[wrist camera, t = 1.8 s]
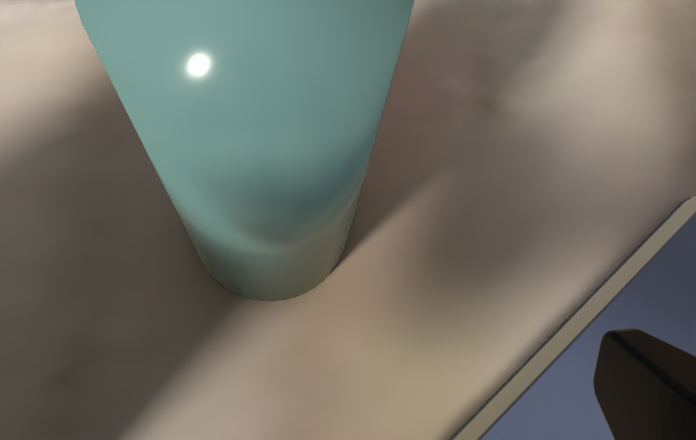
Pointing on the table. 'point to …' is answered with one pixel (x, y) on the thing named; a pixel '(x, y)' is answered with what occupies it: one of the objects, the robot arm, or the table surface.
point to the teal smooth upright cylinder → (255, 121)
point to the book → (599, 341)
